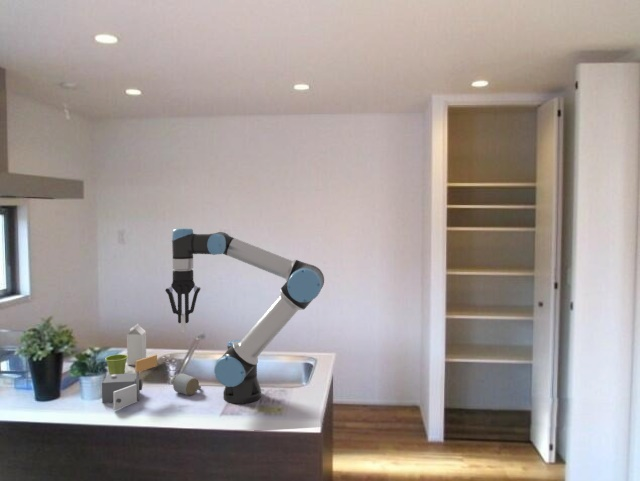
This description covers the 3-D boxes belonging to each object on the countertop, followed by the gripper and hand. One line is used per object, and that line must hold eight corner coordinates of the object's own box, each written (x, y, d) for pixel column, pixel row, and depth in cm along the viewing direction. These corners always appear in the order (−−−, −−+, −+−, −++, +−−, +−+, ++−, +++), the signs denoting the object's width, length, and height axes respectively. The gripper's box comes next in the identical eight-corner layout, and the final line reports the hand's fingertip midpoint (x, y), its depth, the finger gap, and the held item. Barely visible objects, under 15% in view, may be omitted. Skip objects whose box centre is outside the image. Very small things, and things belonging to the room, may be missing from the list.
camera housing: (143, 391, 208) (143, 371, 207) (138, 401, 198) (138, 379, 197) (108, 393, 206) (108, 372, 205) (102, 402, 196) (101, 380, 195)
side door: (155, 393, 205) (155, 354, 204) (159, 394, 204) (158, 355, 203) (113, 410, 188) (112, 368, 187) (116, 411, 187) (116, 368, 186)
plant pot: (114, 381, 221) (114, 361, 220) (101, 377, 225) (100, 358, 225) (132, 375, 229) (132, 356, 228) (118, 371, 234) (118, 353, 233)
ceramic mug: (187, 398, 201) (187, 379, 201) (172, 394, 205) (172, 375, 205) (205, 390, 210) (206, 372, 210) (191, 387, 215) (191, 369, 214)
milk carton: (146, 360, 250) (145, 323, 249) (142, 365, 243) (141, 326, 242) (131, 360, 250) (131, 323, 249) (127, 365, 243) (126, 326, 242)
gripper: (201, 268, 193) (202, 328, 195) (166, 268, 191) (167, 329, 193) (200, 270, 186) (200, 333, 188) (163, 271, 184) (164, 334, 186)
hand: (183, 331), depth 190 cm, fingers closed
